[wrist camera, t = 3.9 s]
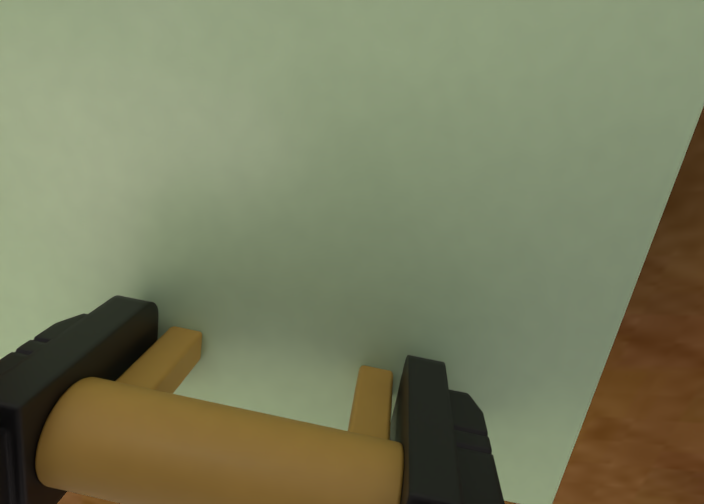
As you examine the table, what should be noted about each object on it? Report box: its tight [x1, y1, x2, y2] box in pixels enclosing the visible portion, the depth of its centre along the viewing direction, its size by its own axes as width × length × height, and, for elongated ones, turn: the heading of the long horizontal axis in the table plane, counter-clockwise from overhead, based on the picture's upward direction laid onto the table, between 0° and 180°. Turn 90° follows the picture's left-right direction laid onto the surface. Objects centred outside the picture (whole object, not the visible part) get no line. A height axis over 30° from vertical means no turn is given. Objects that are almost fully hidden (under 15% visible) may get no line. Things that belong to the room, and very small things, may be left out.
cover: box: [0, 0, 704, 504], centre depth 7 cm, size 16×13×5 cm
